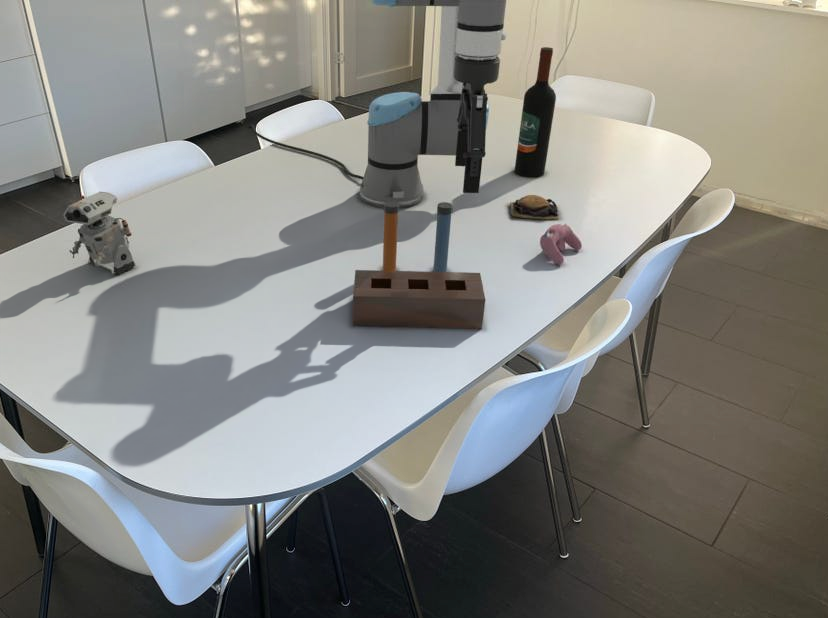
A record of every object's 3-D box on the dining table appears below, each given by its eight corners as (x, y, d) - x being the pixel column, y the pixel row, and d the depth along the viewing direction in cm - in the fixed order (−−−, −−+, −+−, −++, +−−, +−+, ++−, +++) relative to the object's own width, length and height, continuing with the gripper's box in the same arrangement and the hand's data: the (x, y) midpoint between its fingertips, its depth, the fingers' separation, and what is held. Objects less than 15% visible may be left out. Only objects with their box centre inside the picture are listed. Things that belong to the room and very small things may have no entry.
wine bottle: (546, 177, 185) (566, 52, 168) (516, 177, 185) (533, 52, 168) (541, 167, 191) (559, 45, 174) (512, 166, 191) (527, 44, 174)
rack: (355, 298, 136) (355, 269, 132) (476, 301, 135) (480, 272, 132) (352, 325, 128) (352, 296, 125) (481, 329, 127) (485, 299, 124)
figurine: (65, 273, 144) (47, 202, 135) (113, 252, 151) (99, 183, 143) (94, 287, 139) (77, 214, 131) (142, 265, 147) (129, 194, 138)
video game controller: (564, 251, 155) (555, 220, 153) (584, 248, 152) (575, 216, 150) (542, 268, 149) (533, 236, 147) (563, 265, 145) (553, 232, 143)
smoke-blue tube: (429, 271, 144) (434, 205, 136) (438, 266, 146) (443, 200, 138) (441, 276, 143) (446, 209, 135) (449, 271, 145) (455, 204, 136)
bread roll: (511, 219, 165) (513, 203, 163) (509, 203, 172) (511, 189, 170) (559, 221, 164) (562, 205, 162) (555, 205, 171) (558, 190, 169)
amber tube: (379, 270, 145) (380, 204, 137) (388, 265, 146) (390, 199, 138) (390, 275, 143) (392, 208, 135) (399, 270, 145) (402, 203, 137)
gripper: (512, 73, 111) (497, 205, 123) (489, 40, 132) (478, 155, 144) (463, 73, 112) (452, 204, 124) (448, 40, 132) (440, 155, 144)
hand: (466, 178), depth 134 cm, fingers open, 13 cm apart
